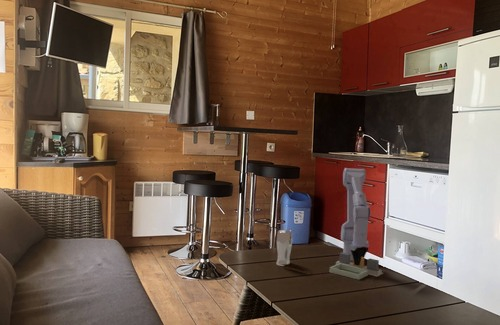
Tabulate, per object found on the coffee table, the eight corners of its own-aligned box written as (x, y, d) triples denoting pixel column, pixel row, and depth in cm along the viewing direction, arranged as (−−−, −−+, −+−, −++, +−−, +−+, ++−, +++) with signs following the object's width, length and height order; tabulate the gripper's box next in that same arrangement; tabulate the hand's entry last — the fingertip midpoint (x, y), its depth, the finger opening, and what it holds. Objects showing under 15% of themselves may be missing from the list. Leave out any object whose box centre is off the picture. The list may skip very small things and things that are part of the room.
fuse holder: (340, 264, 190) (341, 259, 190) (383, 275, 177) (383, 269, 177) (333, 267, 184) (333, 262, 184) (376, 278, 172) (377, 272, 171)
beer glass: (272, 264, 184) (274, 231, 183) (279, 261, 190) (280, 229, 190) (287, 267, 181) (289, 233, 180) (293, 264, 187) (295, 231, 186)
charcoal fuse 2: (369, 271, 179) (369, 258, 178) (378, 273, 176) (378, 260, 176) (366, 272, 177) (367, 259, 177) (375, 274, 174) (376, 261, 174)
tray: (339, 270, 181) (339, 263, 181) (368, 277, 173) (368, 270, 173) (329, 274, 174) (329, 267, 174) (358, 282, 166) (359, 274, 166)
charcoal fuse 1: (341, 264, 187) (342, 252, 187) (349, 266, 184) (350, 254, 184) (339, 265, 185) (339, 253, 185) (347, 267, 182) (348, 255, 182)
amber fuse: (354, 267, 183) (355, 255, 183) (363, 269, 180) (364, 257, 180) (352, 268, 181) (353, 256, 181) (361, 270, 178) (361, 258, 178)
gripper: (361, 237, 172) (359, 269, 172) (375, 232, 183) (373, 263, 184) (346, 234, 176) (344, 265, 177) (360, 229, 187) (358, 259, 188)
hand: (358, 264), depth 180 cm, fingers closed on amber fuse, 2 cm apart
